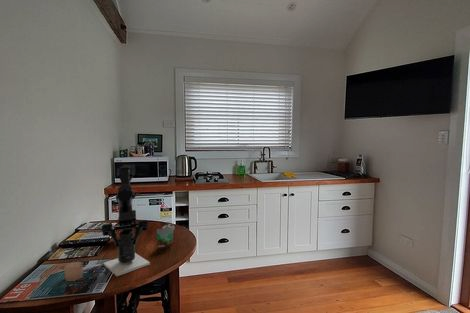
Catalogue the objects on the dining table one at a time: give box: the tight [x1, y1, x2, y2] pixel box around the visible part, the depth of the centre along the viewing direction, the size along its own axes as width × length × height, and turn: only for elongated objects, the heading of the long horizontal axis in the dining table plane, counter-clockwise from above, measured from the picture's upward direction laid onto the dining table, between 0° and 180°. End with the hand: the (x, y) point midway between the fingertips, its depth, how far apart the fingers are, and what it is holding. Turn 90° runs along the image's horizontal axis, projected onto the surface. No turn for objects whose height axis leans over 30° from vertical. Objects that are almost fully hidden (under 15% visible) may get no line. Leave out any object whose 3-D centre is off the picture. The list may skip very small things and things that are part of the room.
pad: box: [103, 252, 151, 277], centre depth 116 cm, size 14×14×1 cm
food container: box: [156, 221, 175, 249], centre depth 137 cm, size 12×6×10 cm, turn 168°
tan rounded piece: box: [63, 261, 84, 282], centre depth 105 cm, size 6×6×5 cm
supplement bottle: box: [117, 231, 136, 263], centre depth 115 cm, size 7×7×12 cm
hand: (126, 245), depth 114 cm, fingers closed on supplement bottle, 7 cm apart
